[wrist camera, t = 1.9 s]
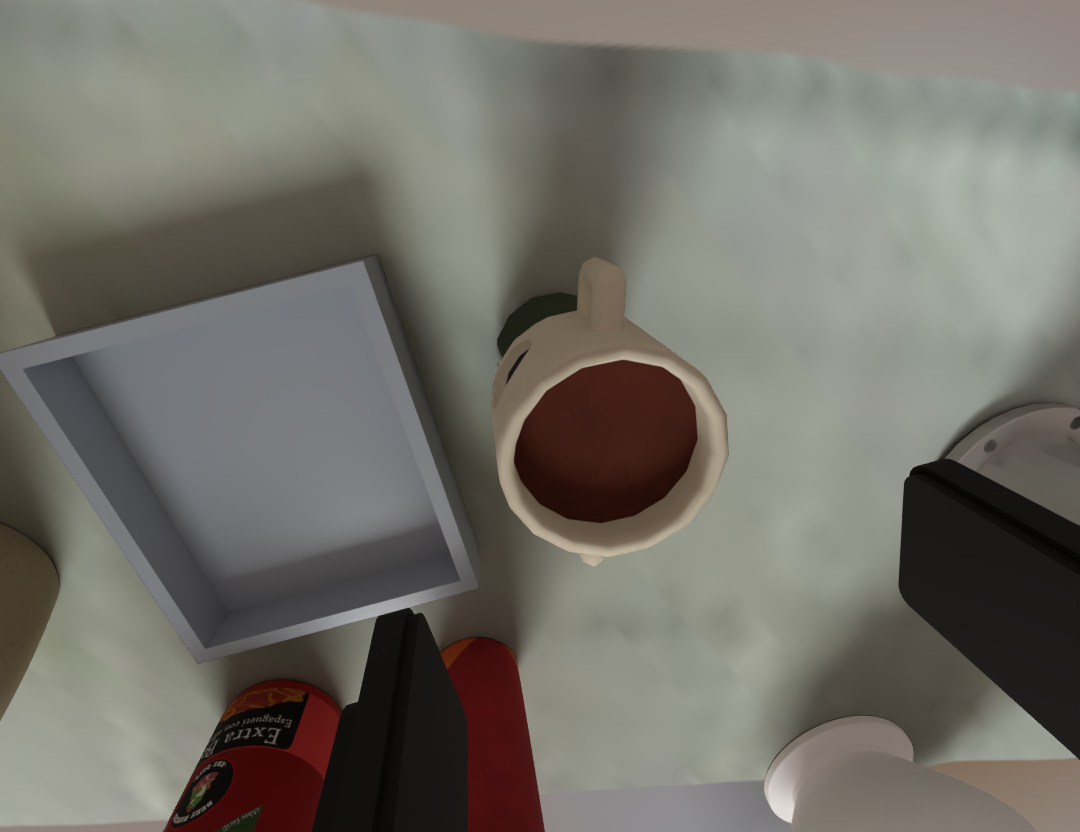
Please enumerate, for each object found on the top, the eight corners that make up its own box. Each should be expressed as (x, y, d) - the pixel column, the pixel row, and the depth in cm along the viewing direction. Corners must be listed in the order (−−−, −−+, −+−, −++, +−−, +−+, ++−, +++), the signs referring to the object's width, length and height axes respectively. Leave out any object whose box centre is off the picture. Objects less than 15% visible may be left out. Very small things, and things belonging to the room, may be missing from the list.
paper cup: (401, 640, 33) (354, 913, 20) (518, 611, 34) (544, 863, 21) (436, 723, 36) (414, 1007, 23) (543, 695, 37) (580, 962, 24)
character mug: (485, 241, 25) (492, 270, 13) (629, 242, 26) (761, 271, 14) (489, 446, 29) (498, 613, 17) (614, 442, 30) (706, 599, 18)
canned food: (306, 659, 33) (231, 858, 23) (368, 736, 36) (326, 943, 26) (198, 702, 33) (76, 918, 23) (269, 775, 36) (188, 995, 26)
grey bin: (377, 254, 25) (362, 260, 22) (478, 549, 31) (479, 588, 28) (55, 336, 25) (-10, 355, 21) (226, 616, 31) (197, 663, 28)
